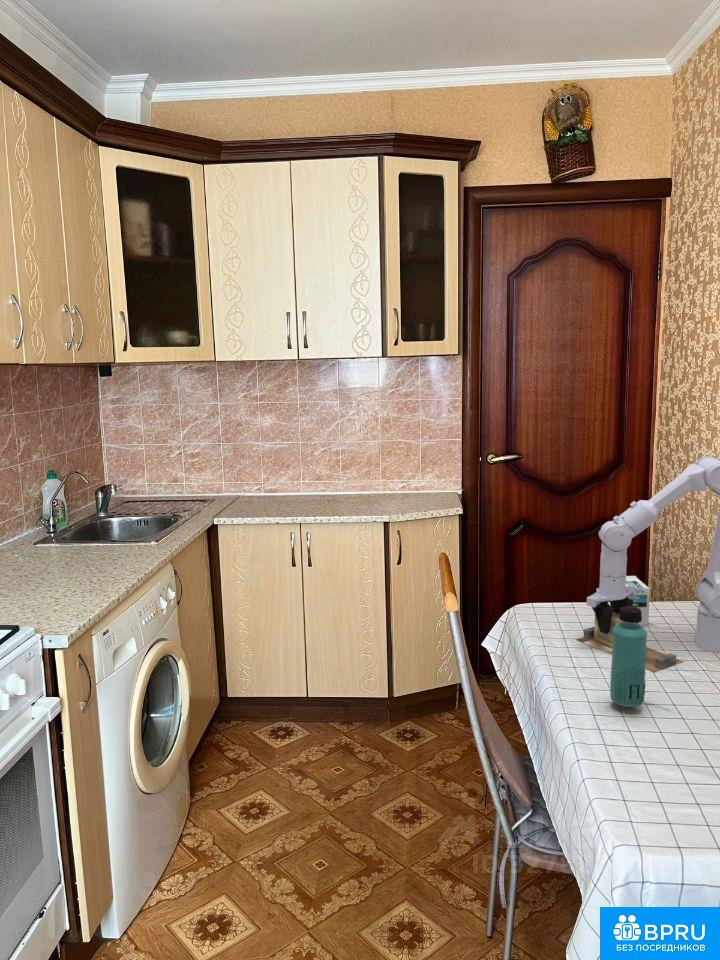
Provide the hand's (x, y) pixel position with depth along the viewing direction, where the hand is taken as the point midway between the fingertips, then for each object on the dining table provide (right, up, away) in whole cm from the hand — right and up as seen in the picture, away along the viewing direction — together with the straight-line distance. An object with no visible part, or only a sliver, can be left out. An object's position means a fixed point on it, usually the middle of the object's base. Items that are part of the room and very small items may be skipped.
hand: (610, 630), depth 177 cm
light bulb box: (+9, -1, +16) cm, 18 cm away
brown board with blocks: (+3, -5, -3) cm, 6 cm away
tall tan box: (0, -3, +1) cm, 3 cm away
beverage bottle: (-6, -9, -28) cm, 31 cm away
